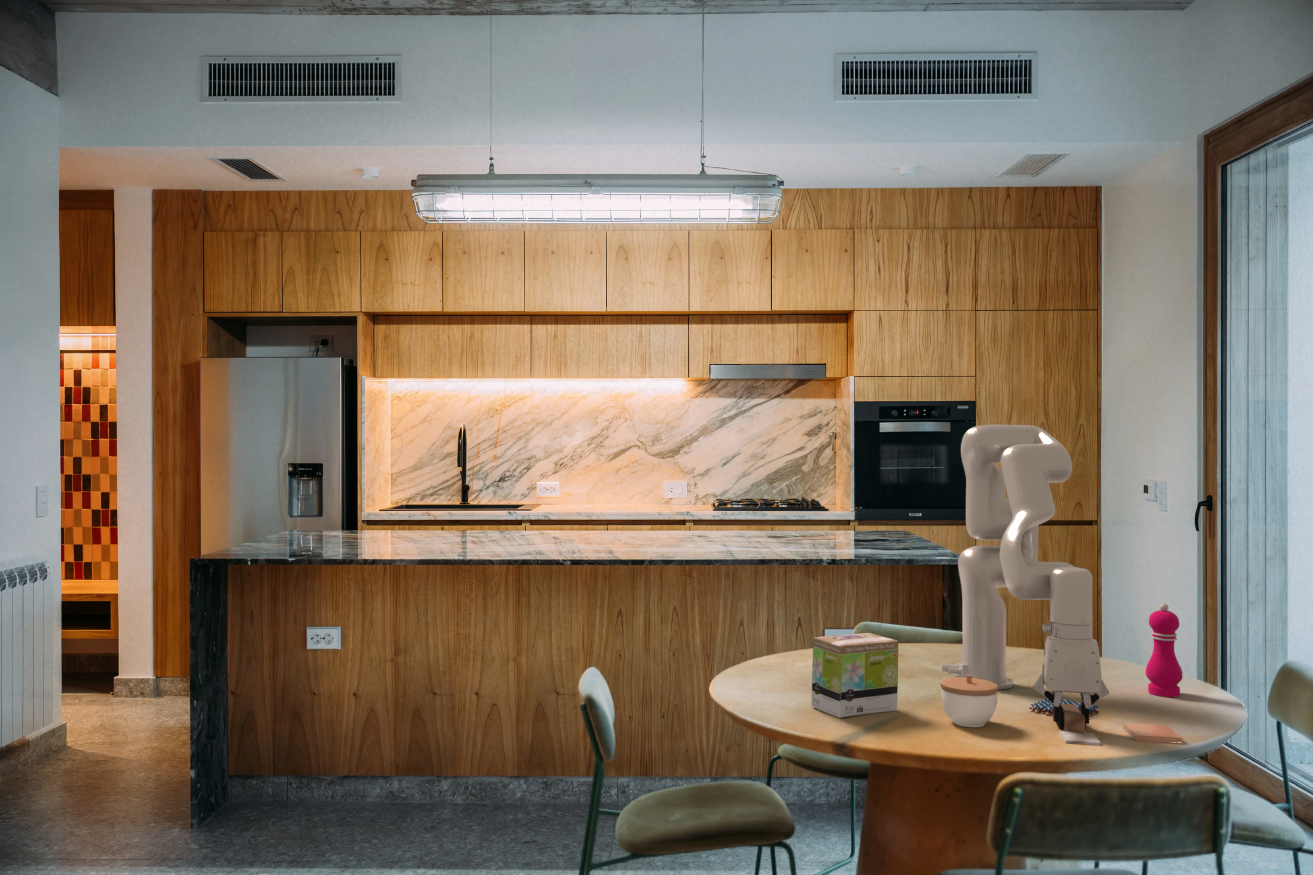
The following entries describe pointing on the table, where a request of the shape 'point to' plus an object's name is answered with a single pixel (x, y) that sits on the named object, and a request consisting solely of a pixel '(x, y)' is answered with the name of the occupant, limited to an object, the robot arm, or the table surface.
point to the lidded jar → (969, 700)
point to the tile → (1151, 733)
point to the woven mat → (1048, 707)
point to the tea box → (854, 674)
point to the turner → (1075, 727)
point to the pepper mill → (1164, 654)
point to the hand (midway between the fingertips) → (1070, 725)
